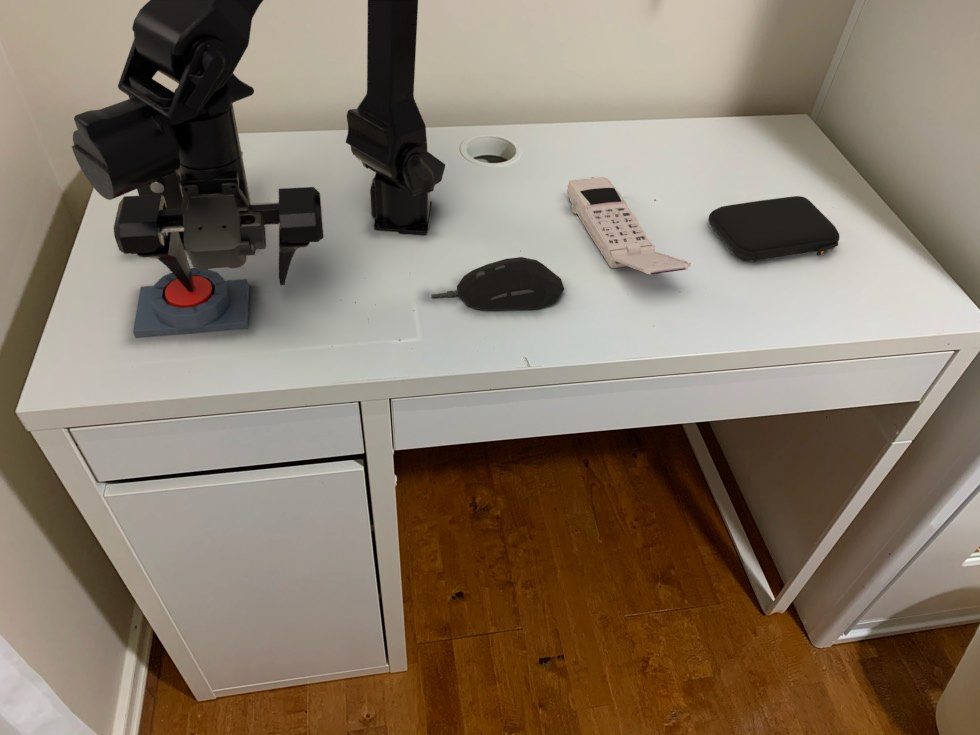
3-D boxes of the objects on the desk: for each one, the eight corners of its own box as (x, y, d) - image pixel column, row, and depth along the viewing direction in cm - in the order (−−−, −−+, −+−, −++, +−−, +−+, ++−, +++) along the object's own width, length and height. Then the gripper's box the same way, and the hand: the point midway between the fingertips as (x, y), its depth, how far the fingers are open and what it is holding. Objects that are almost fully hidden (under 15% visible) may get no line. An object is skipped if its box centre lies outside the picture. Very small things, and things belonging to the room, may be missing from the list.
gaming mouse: (428, 279, 89) (428, 251, 86) (555, 273, 91) (560, 245, 88) (434, 316, 85) (434, 288, 82) (567, 309, 87) (572, 281, 84)
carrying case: (741, 275, 93) (846, 258, 97) (749, 255, 91) (856, 238, 94) (699, 223, 100) (798, 208, 104) (705, 202, 98) (807, 188, 101)
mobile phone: (644, 273, 83) (563, 148, 99) (632, 314, 87) (556, 188, 103) (695, 266, 84) (607, 144, 100) (681, 307, 89) (599, 183, 105)
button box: (249, 285, 86) (244, 264, 84) (247, 332, 81) (243, 310, 79) (143, 293, 85) (136, 271, 82) (135, 341, 80) (127, 319, 77)
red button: (216, 286, 84) (212, 273, 83) (213, 315, 81) (210, 302, 80) (170, 289, 83) (166, 277, 82) (166, 319, 80) (162, 306, 79)
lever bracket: (217, 210, 96) (201, 137, 89) (214, 250, 90) (196, 176, 83) (139, 214, 94) (116, 140, 87) (131, 255, 89) (106, 181, 82)
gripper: (82, 211, 63) (133, 348, 75) (317, 198, 67) (332, 332, 78) (102, 139, 71) (145, 273, 82) (313, 131, 74) (327, 261, 85)
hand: (237, 286), depth 82 cm, fingers open, 9 cm apart
